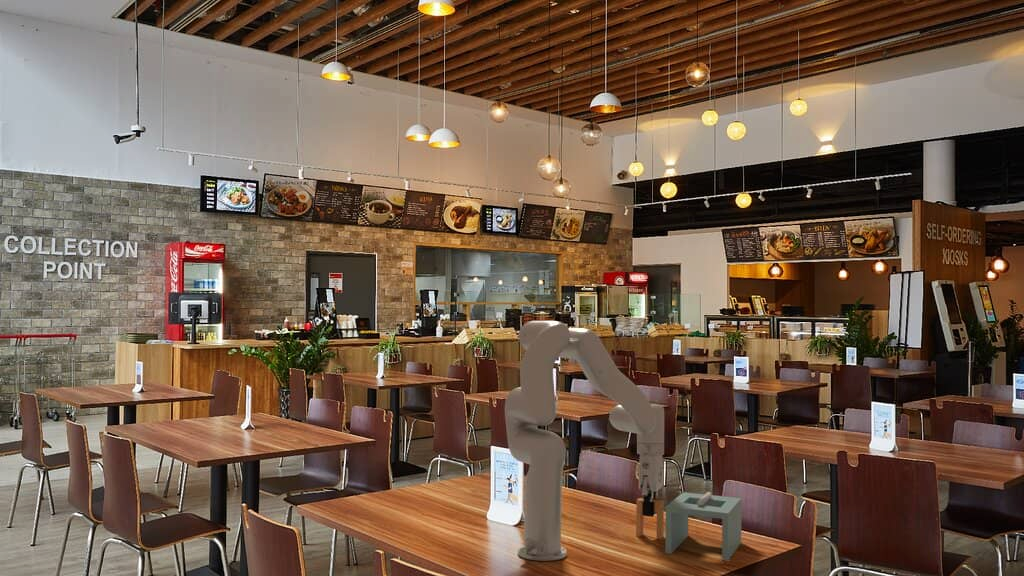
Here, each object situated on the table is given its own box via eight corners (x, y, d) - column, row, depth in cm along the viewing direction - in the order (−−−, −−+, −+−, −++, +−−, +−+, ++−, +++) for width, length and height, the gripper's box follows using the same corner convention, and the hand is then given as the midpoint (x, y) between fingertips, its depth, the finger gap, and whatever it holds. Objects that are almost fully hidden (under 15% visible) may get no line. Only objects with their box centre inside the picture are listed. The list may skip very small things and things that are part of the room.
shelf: (728, 561, 201) (728, 506, 202) (665, 552, 208) (665, 500, 208) (741, 542, 219) (741, 492, 220) (683, 535, 226) (683, 486, 226)
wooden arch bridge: (663, 536, 224) (663, 500, 224) (660, 539, 221) (661, 502, 221) (639, 533, 227) (639, 498, 227) (636, 536, 224) (636, 500, 224)
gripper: (656, 453, 216) (655, 522, 215) (670, 445, 231) (670, 510, 230) (629, 451, 219) (628, 519, 218) (645, 443, 234) (644, 507, 233)
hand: (650, 513), depth 224 cm, fingers closed on wooden arch bridge, 3 cm apart
